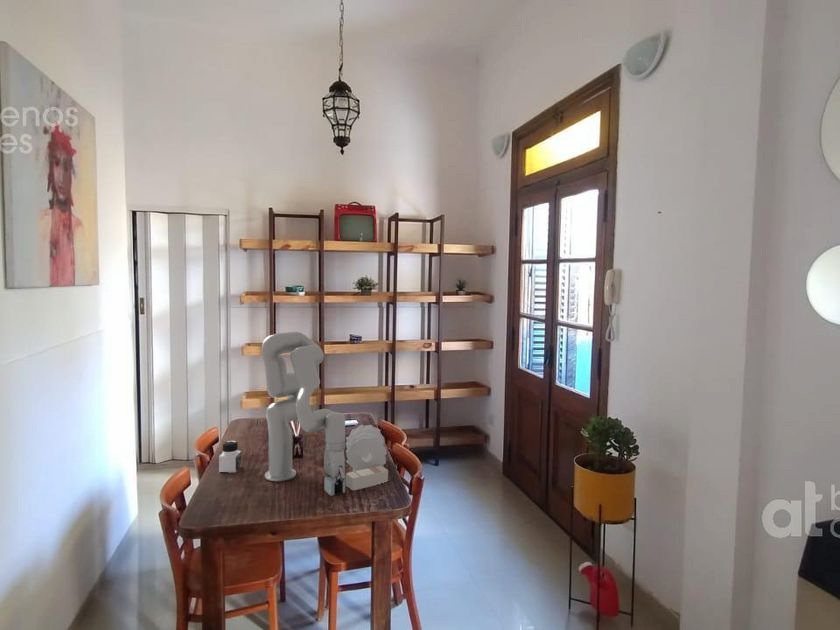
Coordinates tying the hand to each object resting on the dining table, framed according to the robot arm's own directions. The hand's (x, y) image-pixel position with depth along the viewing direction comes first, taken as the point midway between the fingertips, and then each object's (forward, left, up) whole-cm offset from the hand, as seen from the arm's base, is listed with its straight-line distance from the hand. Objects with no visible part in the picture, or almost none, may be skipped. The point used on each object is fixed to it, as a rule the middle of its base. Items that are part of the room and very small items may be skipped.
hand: (334, 489), depth 191 cm
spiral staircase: (-16, +22, -1) cm, 27 cm away
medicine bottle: (-44, -29, -1) cm, 53 cm away
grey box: (0, 0, -1) cm, 1 cm away
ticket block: (0, +14, -1) cm, 14 cm away
